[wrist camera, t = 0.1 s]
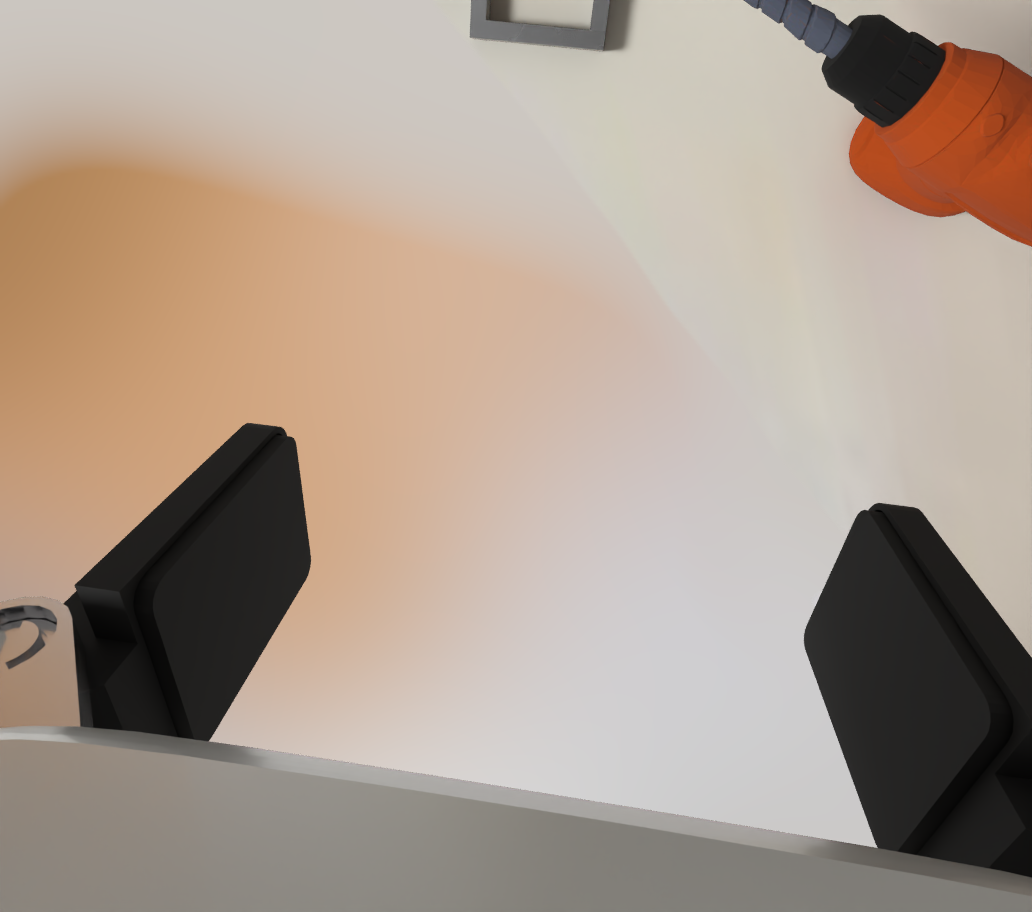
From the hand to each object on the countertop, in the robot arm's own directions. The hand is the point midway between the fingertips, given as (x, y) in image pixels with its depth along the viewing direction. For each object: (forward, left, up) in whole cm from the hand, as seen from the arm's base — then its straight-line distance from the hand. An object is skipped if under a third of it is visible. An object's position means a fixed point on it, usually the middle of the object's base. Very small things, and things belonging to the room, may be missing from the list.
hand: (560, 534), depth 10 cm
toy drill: (-7, +12, -32) cm, 34 cm away
